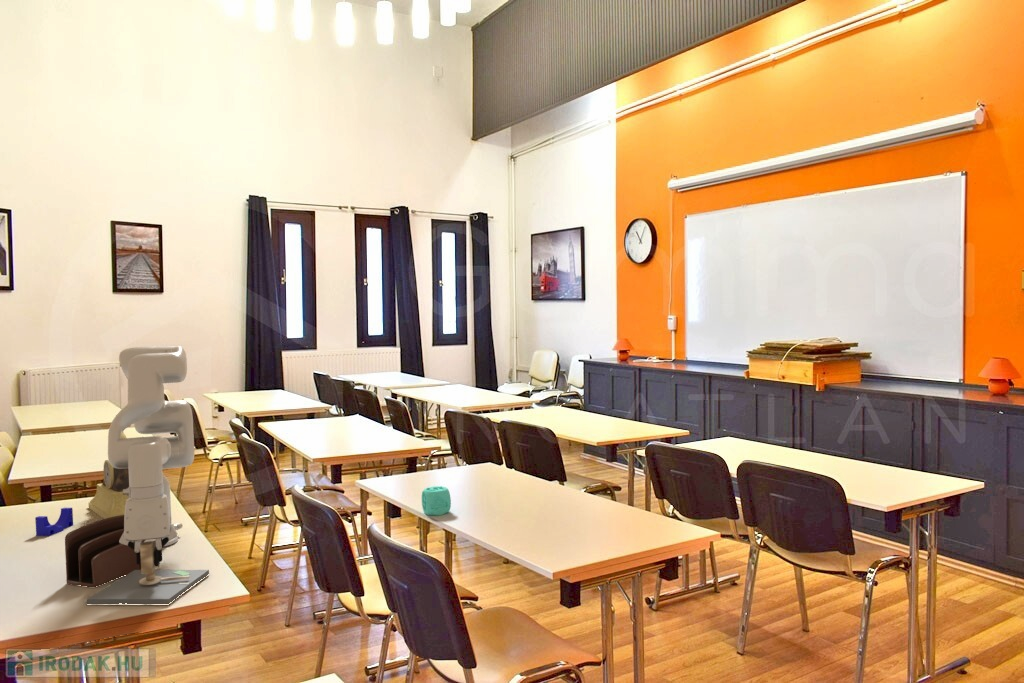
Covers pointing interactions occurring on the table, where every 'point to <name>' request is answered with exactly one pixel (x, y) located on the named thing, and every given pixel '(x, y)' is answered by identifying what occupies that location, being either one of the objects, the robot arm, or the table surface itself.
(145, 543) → the tuning knob
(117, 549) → the letter holder
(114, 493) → the decorative clock
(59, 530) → the cable clip
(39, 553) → the table surface
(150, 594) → the dial board
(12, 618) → the table surface
